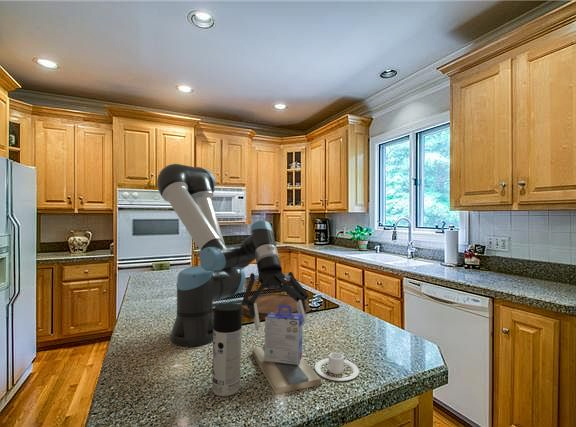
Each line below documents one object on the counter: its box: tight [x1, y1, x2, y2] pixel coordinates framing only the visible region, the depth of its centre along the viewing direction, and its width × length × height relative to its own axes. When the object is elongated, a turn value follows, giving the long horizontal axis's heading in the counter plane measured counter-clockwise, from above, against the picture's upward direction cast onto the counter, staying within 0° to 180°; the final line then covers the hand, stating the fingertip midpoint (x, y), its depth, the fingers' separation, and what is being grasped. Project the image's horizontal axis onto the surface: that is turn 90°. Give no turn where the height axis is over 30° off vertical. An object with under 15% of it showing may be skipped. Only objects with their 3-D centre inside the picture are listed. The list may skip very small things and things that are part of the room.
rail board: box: [251, 343, 322, 395], centre depth 84 cm, size 12×22×2 cm, turn 21°
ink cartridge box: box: [264, 305, 304, 365], centre depth 84 cm, size 10×6×14 cm, turn 78°
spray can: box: [211, 303, 243, 398], centre depth 73 cm, size 7×7×20 cm
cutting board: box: [239, 293, 311, 321], centre depth 137 cm, size 32×32×3 cm
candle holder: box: [314, 352, 360, 382], centre depth 83 cm, size 12×12×4 cm
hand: (281, 325), depth 84 cm, fingers open, 13 cm apart
